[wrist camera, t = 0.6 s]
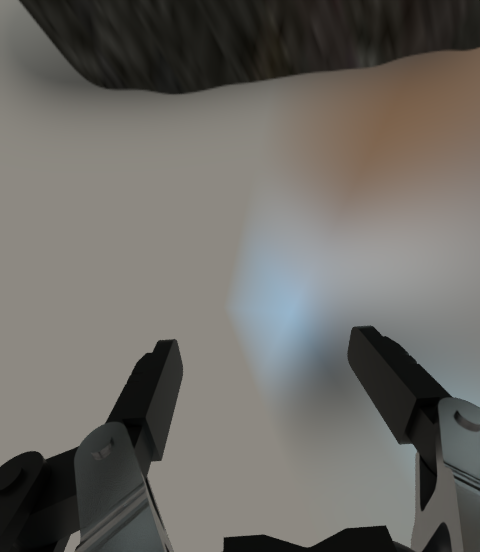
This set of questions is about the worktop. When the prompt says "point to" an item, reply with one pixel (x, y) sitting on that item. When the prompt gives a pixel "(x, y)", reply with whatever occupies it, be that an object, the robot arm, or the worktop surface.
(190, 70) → the worktop surface
